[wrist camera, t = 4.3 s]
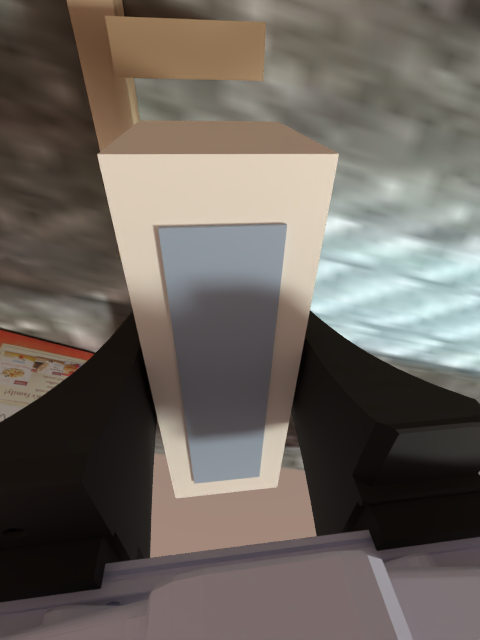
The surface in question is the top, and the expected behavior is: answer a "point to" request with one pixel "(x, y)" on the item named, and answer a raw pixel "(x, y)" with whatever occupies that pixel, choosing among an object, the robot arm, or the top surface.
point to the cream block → (220, 284)
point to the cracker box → (32, 369)
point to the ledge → (154, 56)
